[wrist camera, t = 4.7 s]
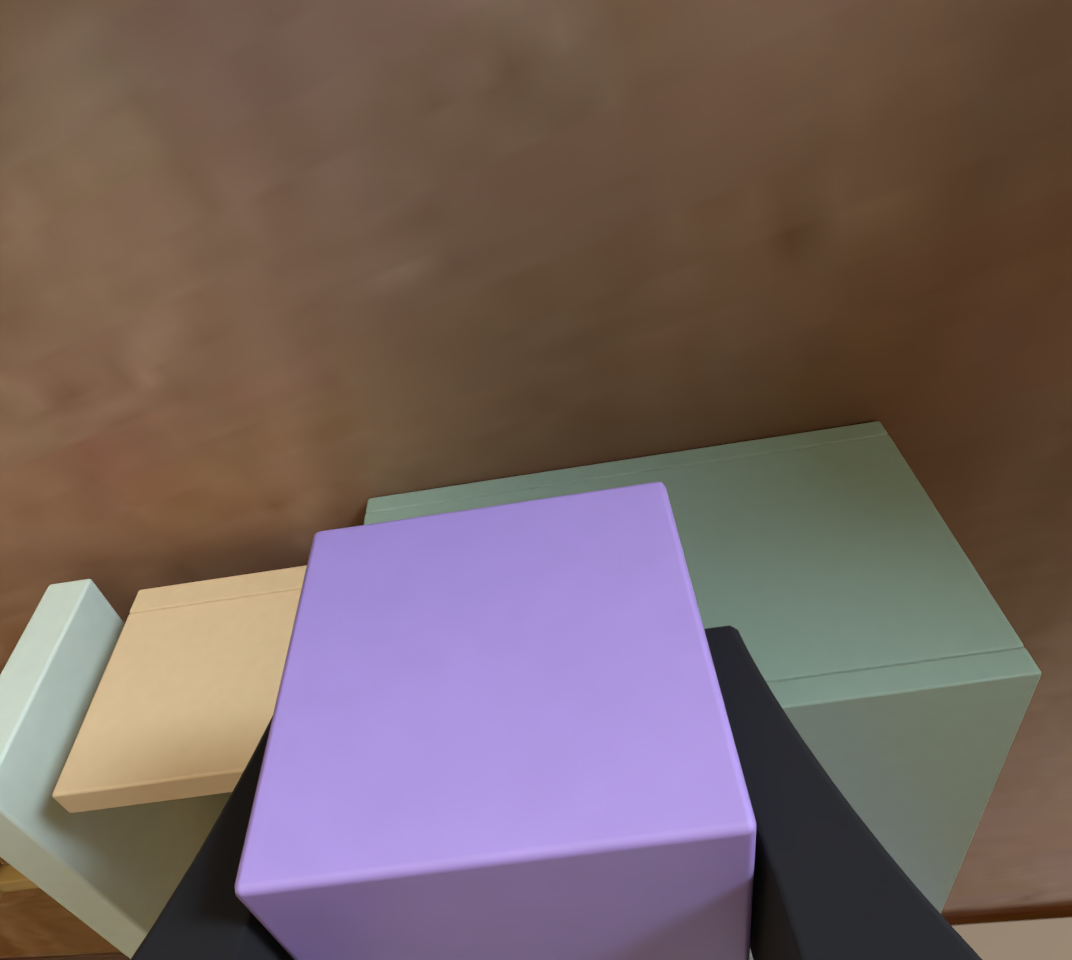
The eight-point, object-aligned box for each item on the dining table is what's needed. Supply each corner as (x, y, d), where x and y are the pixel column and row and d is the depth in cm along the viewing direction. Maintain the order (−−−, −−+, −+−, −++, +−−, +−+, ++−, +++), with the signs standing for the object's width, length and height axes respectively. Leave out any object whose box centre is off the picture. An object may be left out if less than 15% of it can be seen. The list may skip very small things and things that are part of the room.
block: (664, 477, 11) (760, 828, 7) (677, 690, 14) (748, 1012, 10) (312, 529, 11) (227, 895, 7) (401, 726, 14) (374, 1054, 10)
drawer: (68, 828, 29) (-9, 1022, 25) (-166, 615, 22) (-342, 839, 17) (567, 762, 28) (584, 951, 24) (508, 514, 21) (516, 724, 16)
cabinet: (469, 764, 30) (467, 1004, 24) (366, 497, 21) (323, 768, 15) (834, 715, 29) (926, 951, 23) (880, 419, 20) (1043, 673, 14)
